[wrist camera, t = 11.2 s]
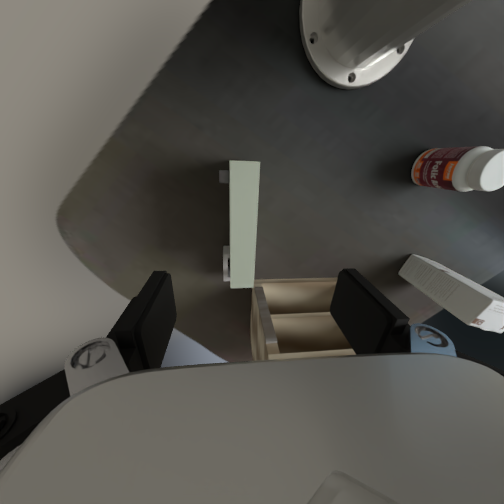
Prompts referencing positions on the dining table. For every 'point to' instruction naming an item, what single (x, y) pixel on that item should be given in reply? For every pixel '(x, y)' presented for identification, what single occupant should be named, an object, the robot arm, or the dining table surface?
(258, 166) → the door
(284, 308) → the cabinet
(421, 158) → the pill bottle
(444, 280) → the skincare box
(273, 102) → the dining table surface
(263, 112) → the dining table surface
